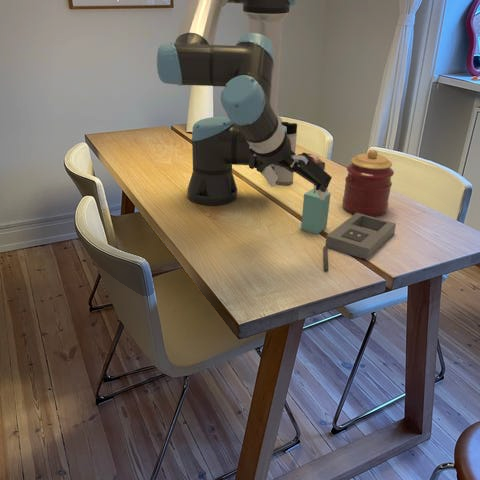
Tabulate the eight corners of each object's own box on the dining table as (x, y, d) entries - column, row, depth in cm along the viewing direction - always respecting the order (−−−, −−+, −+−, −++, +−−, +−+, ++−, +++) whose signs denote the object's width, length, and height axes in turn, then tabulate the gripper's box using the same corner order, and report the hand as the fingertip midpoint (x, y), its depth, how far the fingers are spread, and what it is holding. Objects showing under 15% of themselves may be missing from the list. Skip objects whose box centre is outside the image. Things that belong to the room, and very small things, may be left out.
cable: (328, 272, 111) (328, 268, 110) (323, 271, 111) (324, 267, 110) (327, 249, 120) (327, 245, 120) (323, 248, 120) (323, 245, 120)
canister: (354, 219, 137) (363, 158, 128) (334, 201, 148) (341, 144, 140) (395, 215, 140) (407, 155, 132) (373, 198, 151) (382, 142, 143)
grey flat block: (367, 260, 116) (369, 247, 114) (325, 246, 121) (326, 234, 120) (394, 233, 129) (396, 221, 127) (355, 222, 135) (356, 211, 133)
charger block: (317, 234, 128) (322, 194, 122) (300, 229, 130) (304, 189, 125) (326, 227, 131) (331, 188, 126) (309, 222, 134) (313, 184, 129)
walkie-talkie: (288, 161, 182) (312, 179, 165) (289, 150, 180) (313, 167, 163) (310, 159, 184) (335, 177, 168) (311, 148, 182) (337, 165, 166)
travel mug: (270, 183, 160) (273, 122, 151) (278, 177, 165) (282, 118, 156) (287, 187, 157) (292, 125, 148) (295, 180, 163) (300, 120, 153)
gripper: (211, 143, 104) (248, 189, 122) (315, 168, 91) (340, 215, 109) (226, 114, 106) (261, 163, 123) (331, 134, 93) (353, 186, 111)
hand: (298, 188), depth 116 cm, fingers open, 13 cm apart
